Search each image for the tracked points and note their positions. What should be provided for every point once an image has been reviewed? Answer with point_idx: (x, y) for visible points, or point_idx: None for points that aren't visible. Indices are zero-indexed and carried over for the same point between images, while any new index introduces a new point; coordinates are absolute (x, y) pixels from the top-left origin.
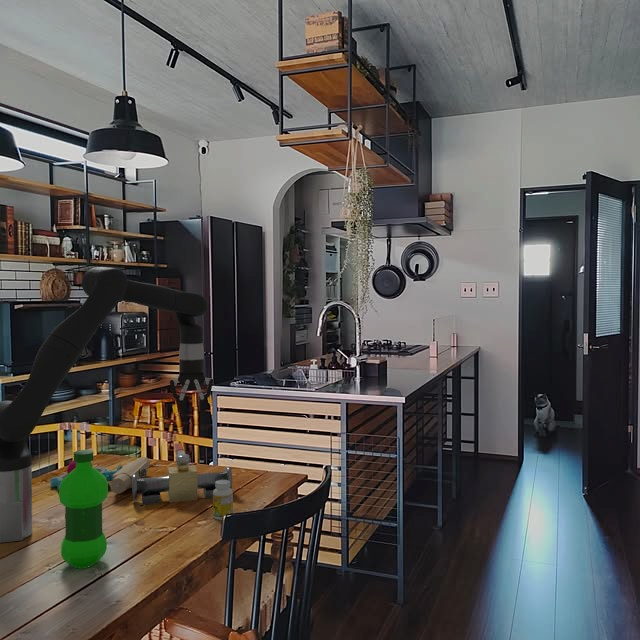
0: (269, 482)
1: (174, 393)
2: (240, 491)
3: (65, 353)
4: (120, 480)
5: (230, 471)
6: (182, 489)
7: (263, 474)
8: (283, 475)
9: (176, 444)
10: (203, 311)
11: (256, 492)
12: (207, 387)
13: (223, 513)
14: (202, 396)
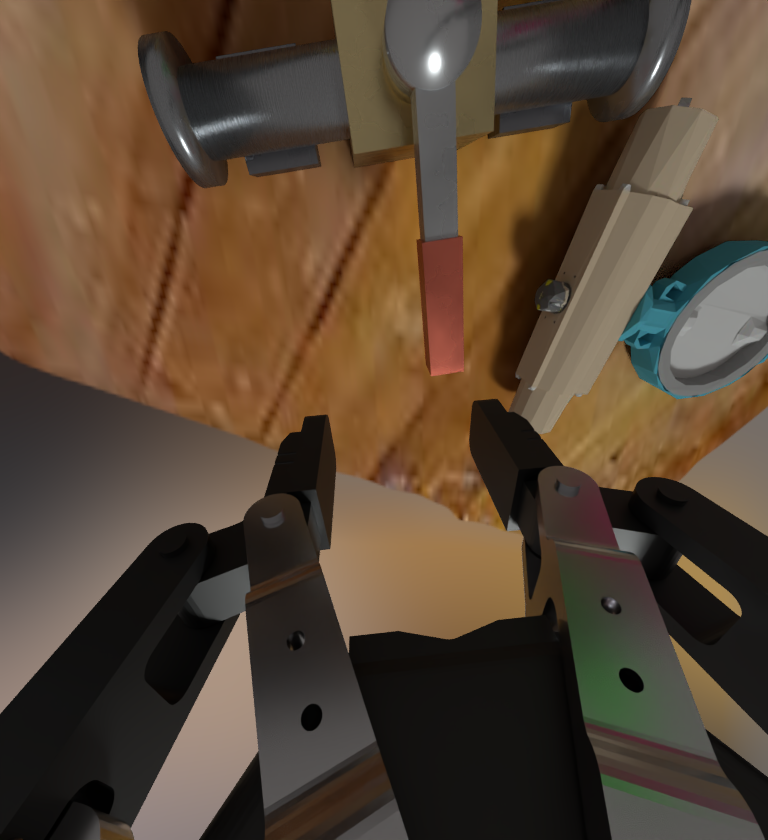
0: (84, 271)
1: (726, 535)
2: (169, 157)
3: None
4: (688, 107)
5: (144, 55)
6: None
7: (139, 369)
8: (60, 351)
9: (454, 353)
10: None
11: (92, 127)
12: (152, 729)
13: None
14: (264, 529)
